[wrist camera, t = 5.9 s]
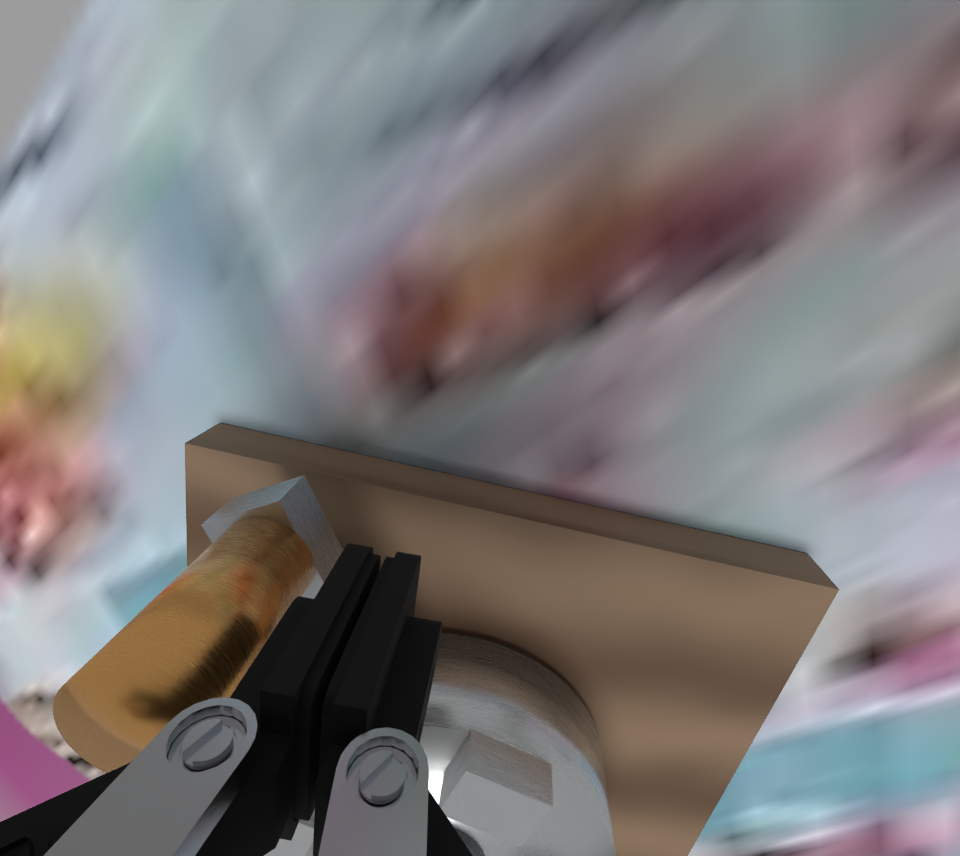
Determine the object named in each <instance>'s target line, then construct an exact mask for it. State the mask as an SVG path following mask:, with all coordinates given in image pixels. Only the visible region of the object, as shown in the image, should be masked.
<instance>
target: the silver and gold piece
mask: <svg viewBox="0 0 960 856" xmlns="http://www.w3.org/2000/svg"><path fill="white" fill-rule="evenodd" d="M202 527H203V529H204V530H205V532H206V534H207V535H208V537H209V539H210V540H211V542H212V544H211V545H210V546H209V547H208V548H207V549H206V550H205V551H204V552H203V553H202V554H201V555H200V556H199V557H198V558H197V559H196V560H194V561H193V562H192V563H191V564H190V565H189V566H188V567H187V568H186V569H185V570H184V571H183V572H182V573H181V574H180V575H179V576H178V577H177V578H176V579H175V580H173V581H172V582H171V583H170V584H169V585H168V586H167V587H166V588H165V589H164V590H163V591H162V592H161V593H160V594H159V595H158V596H157V597H156V598H155V599H154V600H152V601H151V602H150V603H149V604H148V605H147V606H146V607H145V608H144V609H143V610H142V611H141V612H140V613H139V614H138V615H137V616H136V617H135V618H134V619H132V620H131V621H130V622H129V623H128V624H127V625H126V626H125V627H124V628H123V629H122V630H121V631H120V632H119V633H118V634H117V635H116V636H115V637H114V638H113V639H111V640H110V641H109V642H108V643H107V644H106V645H105V646H104V647H103V648H102V649H101V650H100V651H99V652H98V653H97V654H96V655H95V656H94V657H93V658H92V659H90V660H89V661H88V662H87V663H86V664H85V665H84V666H83V667H82V668H81V669H80V670H79V671H78V672H77V673H76V674H75V675H74V676H73V677H72V678H70V679H69V680H68V681H67V682H66V683H65V684H64V685H63V686H62V687H61V688H60V690H59V691H58V692H57V694H56V696H55V699H54V703H53V715H54V719H55V723H56V725H57V728H58V730H59V732H60V733H61V735H62V737H63V738H64V739H65V741H66V742H67V743H68V745H69V746H70V747H71V748H72V749H73V750H74V751H75V752H76V753H77V754H78V755H80V756H81V757H82V758H83V759H85V760H86V761H87V762H89V763H90V764H92V765H93V766H95V767H96V768H98V769H100V770H102V771H104V772H106V773H108V772H111V771H113V770H115V769H117V768H119V767H121V766H124V765H126V764H128V763H130V762H132V761H133V760H134V759H135V758H136V757H137V756H138V754H139V753H140V752H141V751H142V750H143V749H144V748H145V747H146V746H147V745H148V744H149V743H150V742H151V741H152V740H153V738H154V737H155V736H156V735H157V734H158V733H159V732H160V731H161V730H162V729H163V728H164V727H165V726H166V725H167V724H168V723H169V722H170V721H171V720H172V719H173V718H174V717H175V716H177V715H178V714H179V713H180V712H181V711H183V710H185V709H187V708H188V707H190V706H192V705H194V704H196V703H198V702H202V701H205V700H208V699H211V698H223V697H227V698H230V696H231V695H232V693H233V692H234V690H235V689H236V687H237V686H238V684H239V683H240V681H241V680H242V678H243V677H244V675H245V673H246V672H247V670H248V669H249V667H250V666H251V664H252V663H253V661H254V660H255V658H256V657H257V655H258V654H259V652H260V650H261V649H262V647H263V646H264V644H265V643H266V641H267V640H268V638H269V637H270V635H271V634H272V632H273V631H274V629H275V627H276V626H277V624H278V623H279V621H280V620H281V618H282V617H283V615H284V614H285V612H286V611H287V609H288V608H289V606H290V604H291V603H292V602H293V601H294V599H295V598H297V597H298V596H301V597H306V598H312V599H314V598H315V597H316V595H317V593H318V592H319V590H320V588H321V587H322V585H323V583H324V582H325V580H326V578H327V577H328V575H329V573H330V571H331V570H332V568H333V566H334V565H335V563H336V561H337V560H338V558H339V556H340V555H341V553H342V551H343V549H342V547H341V545H340V543H339V541H338V539H337V537H336V535H335V534H334V532H333V530H332V528H331V526H330V524H329V522H328V520H327V518H326V516H325V514H324V512H323V510H322V509H321V507H320V505H319V503H318V501H317V499H316V497H315V495H314V493H313V491H312V489H311V487H310V485H309V483H308V482H307V480H306V478H305V476H304V475H303V476H299V477H296V478H293V479H290V480H287V481H284V482H281V483H277V484H274V485H271V486H268V487H265V488H262V489H258V490H255V491H252V492H249V493H246V494H243V495H239V496H236V497H233V498H232V499H231V500H229V501H228V502H227V503H226V504H225V505H224V506H222V507H221V508H220V509H219V510H218V511H217V512H216V513H214V514H213V515H212V516H211V517H210V518H209V519H207V520H206V521H205V522H204V523H203V524H202ZM420 744H421V746H422V748H423V750H424V752H425V754H426V756H427V759H428V767H429V788H428V789H429V791H430V792H431V794H432V795H433V797H434V798H435V800H436V801H437V803H438V804H439V806H440V807H441V809H442V810H443V812H444V813H445V815H446V816H447V818H448V819H449V821H450V822H451V824H452V825H453V827H454V828H455V830H456V831H457V833H458V834H459V836H460V837H461V839H462V840H463V842H464V843H465V845H466V846H467V848H468V849H469V851H470V852H471V854H472V855H473V856H615V847H614V840H613V833H612V826H611V819H610V811H609V804H608V797H607V790H606V782H605V775H604V768H603V761H602V753H601V746H600V740H599V737H598V733H597V730H596V726H595V724H594V722H593V720H592V718H591V716H590V714H589V712H588V710H587V709H586V707H585V706H584V704H583V703H582V701H581V700H580V698H579V697H578V696H577V695H576V694H575V693H574V692H573V690H572V689H571V688H570V687H569V686H568V685H567V684H566V683H565V682H564V681H563V680H561V679H560V678H559V677H558V676H557V675H555V674H554V673H553V672H552V671H550V670H549V669H547V668H546V667H544V666H543V665H541V664H540V663H538V662H537V661H535V660H534V659H532V658H530V657H528V656H526V655H524V654H522V653H520V652H518V651H516V650H513V649H510V648H508V647H505V646H503V645H500V644H497V643H494V642H491V641H487V640H483V639H479V638H475V637H470V636H463V635H457V634H447V633H441V636H440V642H439V649H438V655H437V661H436V666H435V672H434V677H433V682H432V687H431V692H430V697H429V702H428V706H427V711H426V716H425V721H424V725H423V730H422V735H421V739H420ZM314 815H315V809H314V811H313V814H312V816H311V818H310V820H309V821H305V820H299V823H298V825H297V828H296V830H295V833H294V835H293V838H292V841H290V840H285V839H279V841H278V844H277V846H276V848H275V849H273V850H272V851H270V852H269V853H267V854H266V855H264V856H313V837H314Z"/></svg>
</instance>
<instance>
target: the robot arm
mask: <svg viewBox="0 0 960 856" xmlns="http://www.w3.org/2000/svg"><path fill="white" fill-rule="evenodd" d="M380 562H381V556H380V555H376V554H373V548H372V547H369V546H363V545H357V544H352V543H348V544H347V545H346V546H345V548H344V550H343V551H342V553H341V555H340V556H339V558H338V560H337V561H336V563H335V565H334V566H333V568H332V570H331V571H330V573H329V575H328V577H327V578H326V580H325V582H324V583H323V585H322V587H321V588H320V590H319V592H318V593H317V595H316V597H315V598H314V599H312V598H306V597H301V596H298V597H297V598H295V599H294V601H293V602H292V603H291V604H290V606H289V608H288V609H287V611H286V612H285V614H284V615H283V617H282V618H281V620H280V621H279V623H278V624H277V626H276V627H275V629H274V631H273V632H272V634H271V635H270V637H269V638H268V640H267V641H266V643H265V644H264V646H263V647H262V649H261V650H260V652H259V654H258V655H257V657H256V658H255V660H254V661H253V663H252V664H251V666H250V667H249V669H248V670H247V672H246V673H245V675H244V677H243V678H242V680H241V681H240V683H239V684H238V686H237V687H236V689H235V690H234V692H233V693H232V695H231V696H230V698H227V697H223V698H211V699H208V700H205V701H202V702H198V703H196V704H194V705H192V706H190V707H188V708H187V709H185V710H183V711H181V712H180V713H179V714H178V715H177V716H175V717H174V718H173V719H172V720H171V721H170V722H169V723H168V724H167V725H166V726H165V727H164V728H163V729H162V730H161V731H160V732H159V733H158V734H157V735H156V736H155V737H154V738H153V740H152V741H151V742H150V743H149V744H148V745H147V746H146V747H145V748H144V749H143V750H142V751H141V752H140V753H139V754H138V756H137V757H136V758H135V759H134V760H133V761H132V762H130V763H128V764H126V765H124V766H121V767H119V768H117V769H115V770H113V771H111V772H108V773H106V774H104V775H102V776H100V777H97V778H95V779H93V780H91V781H89V782H87V783H84V784H82V785H80V786H78V787H76V788H74V789H71V790H69V791H67V792H65V793H63V794H61V795H58V796H56V797H54V798H52V799H50V800H48V801H45V802H43V803H41V804H39V805H36V806H35V807H32V808H30V809H28V810H26V811H24V812H21V813H19V814H17V815H15V816H13V817H11V818H8V819H6V820H4V821H2V822H0V856H264V855H266V854H267V853H269V852H270V851H272V850H273V849H275V848H276V846H277V844H278V841H279V839H285V840H290V841H292V838H293V835H294V833H295V830H296V828H297V825H298V823H299V820H305V821H309V820H310V818H311V816H312V814H313V811H314V809H315V815H314V837H313V856H473V855H472V854H471V852H470V851H469V849H468V848H467V846H466V845H465V843H464V842H463V840H462V839H461V837H460V836H459V834H458V833H457V831H456V830H455V828H454V827H453V825H452V824H451V822H450V821H449V819H448V818H447V816H446V815H445V813H444V812H443V810H442V809H441V807H440V806H439V804H438V803H437V801H436V800H435V798H434V797H433V795H432V794H431V792H430V791H429V789H428V788H429V767H428V759H427V756H426V754H425V752H424V750H423V748H422V746H421V744H420V739H421V735H422V730H423V725H424V721H425V716H426V711H427V706H428V702H429V697H430V692H431V687H432V682H433V677H434V672H435V666H436V661H437V655H438V649H439V642H440V636H441V629H442V622H440V621H434V620H429V619H423V618H418V617H414V613H415V605H416V597H417V589H418V581H419V573H420V565H421V556H420V555H414V554H409V553H403V552H397V553H396V555H395V557H394V558H393V557H388V556H387V557H386V558H385V560H384V562H383V565H382V567H381V569H380Z"/></svg>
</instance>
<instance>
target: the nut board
mask: <svg viewBox="0 0 960 856" xmlns="http://www.w3.org/2000/svg"><path fill="white" fill-rule="evenodd" d="M185 469H186V520H187V567H188V566H189V565H190V564H191V563H192V562H193V561H194V560H196V559H197V558H198V557H199V556H200V555H201V554H202V553H203V552H204V551H205V550H206V549H207V548H208V547H209V546H210V545H211V544H212V542H211V540H210V539H209V537H208V535H207V534H206V532H205V530H204V529H203V527H202V524H203V523H204V522H205V521H206V520H207V519H209V518H210V517H211V516H212V515H213V514H214V513H216V512H217V511H218V510H219V509H220V508H221V507H222V506H224V505H225V504H226V503H227V502H228V501H229V500H231V499H232V498H233V497H236V496H239V495H243V494H246V493H249V492H252V491H255V490H258V489H262V488H265V487H268V486H271V485H274V484H277V483H281V482H284V481H287V480H290V479H293V478H296V477H299V476H303V475H304V476H305V478H306V480H307V482H308V483H309V485H310V487H311V489H312V491H313V493H314V495H315V497H316V499H317V501H318V503H319V505H320V507H321V509H322V510H323V512H324V514H325V516H326V518H327V520H328V522H329V524H330V526H331V528H332V530H333V532H334V534H335V535H336V537H337V539H338V541H339V543H340V545H341V547H342V549H343V550H344V548H345V546H346V545H347V544H348V543H352V544H357V545H363V546H369V547H372V548H373V554H376V555H380V556H381V562H380V569H381V567H382V565H383V562H384V560H385V558H386V557H387V556H388V557H393V558H394V557H395V555H396V553H397V552H403V553H409V554H414V555H420V556H421V565H420V573H419V581H418V589H417V597H416V605H415V613H414V617H418V618H423V619H429V620H434V621H440V622H442V629H441V633H447V634H457V635H463V636H470V637H475V638H479V639H483V640H487V641H491V642H494V643H497V644H500V645H503V646H505V647H508V648H510V649H513V650H516V651H518V652H520V653H522V654H524V655H526V656H528V657H530V658H532V659H534V660H535V661H537V662H538V663H540V664H541V665H543V666H544V667H546V668H547V669H549V670H550V671H552V672H553V673H554V674H555V675H557V676H558V677H559V678H560V679H561V680H563V681H564V682H565V683H566V684H567V685H568V686H569V687H570V688H571V689H572V690H573V692H574V693H575V694H576V695H577V696H578V697H579V698H580V700H581V701H582V703H583V704H584V706H585V707H586V709H587V710H588V712H589V714H590V716H591V718H592V720H593V722H594V724H595V726H596V730H597V733H598V737H599V740H600V746H601V753H602V761H603V768H604V775H605V782H606V790H607V797H608V804H609V811H610V819H611V826H612V833H613V840H614V847H615V856H688V854H689V852H690V851H691V849H692V847H693V845H694V844H695V842H696V840H697V838H698V837H699V835H700V833H701V831H702V830H703V828H704V826H705V824H706V823H707V821H708V819H709V817H710V816H711V814H712V812H713V810H714V809H715V807H716V805H717V803H718V802H719V800H720V798H721V796H722V794H723V793H724V791H725V789H726V787H727V786H728V784H729V782H730V780H731V779H732V777H733V775H734V773H735V772H736V770H737V768H738V766H739V765H740V763H741V761H742V759H743V758H744V756H745V754H746V752H747V751H748V749H749V747H750V745H751V744H752V742H753V740H754V738H755V736H756V735H757V733H758V731H759V729H760V728H761V726H762V724H763V722H764V721H765V719H766V717H767V715H768V714H769V712H770V710H771V708H772V707H773V705H774V703H775V701H776V700H777V698H778V696H779V694H780V693H781V691H782V689H783V687H784V686H785V684H786V682H787V680H788V679H789V677H790V675H791V673H792V671H793V670H794V668H795V666H796V664H797V663H798V661H799V659H800V657H801V656H802V654H803V652H804V650H805V649H806V647H807V645H808V643H809V642H810V640H811V638H812V636H813V635H814V633H815V631H816V629H817V628H818V626H819V624H820V622H821V621H822V619H823V617H824V615H825V613H826V612H827V610H828V608H829V606H830V605H831V603H832V601H833V599H834V598H835V596H836V594H837V592H838V591H839V589H838V588H837V587H836V585H835V584H834V583H833V582H832V581H831V580H830V579H829V577H828V576H827V575H826V574H825V573H824V572H823V571H822V570H821V568H820V567H819V566H818V565H817V564H816V563H815V562H814V561H813V559H812V558H811V557H810V556H809V555H808V554H807V553H802V552H798V551H793V550H789V549H784V548H780V547H775V546H771V545H766V544H762V543H757V542H753V541H748V540H744V539H739V538H735V537H730V536H726V535H721V534H717V533H712V532H708V531H703V530H699V529H694V528H690V527H685V526H681V525H676V524H672V523H667V522H663V521H658V520H654V519H649V518H645V517H641V516H636V515H632V514H627V513H623V512H618V511H614V510H609V509H605V508H600V507H596V506H591V505H587V504H582V503H578V502H573V501H569V500H564V499H560V498H555V497H551V496H546V495H542V494H537V493H533V492H528V491H524V490H519V489H515V488H510V487H506V486H501V485H497V484H492V483H488V482H483V481H479V480H474V479H470V478H465V477H461V476H456V475H452V474H447V473H443V472H438V471H434V470H429V469H425V468H420V467H416V466H411V465H407V464H402V463H398V462H393V461H389V460H384V459H380V458H375V457H371V456H366V455H362V454H357V453H353V452H348V451H344V450H339V449H335V448H330V447H326V446H321V445H317V444H312V443H308V442H303V441H299V440H294V439H290V438H285V437H281V436H277V435H272V434H268V433H263V432H259V431H254V430H250V429H245V428H241V427H236V426H232V425H227V424H223V423H219V424H217V425H215V426H214V427H212V428H210V429H208V430H207V431H205V432H203V433H202V434H200V435H198V436H197V437H195V438H193V439H191V440H190V441H188V442H186V443H185Z"/></svg>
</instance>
